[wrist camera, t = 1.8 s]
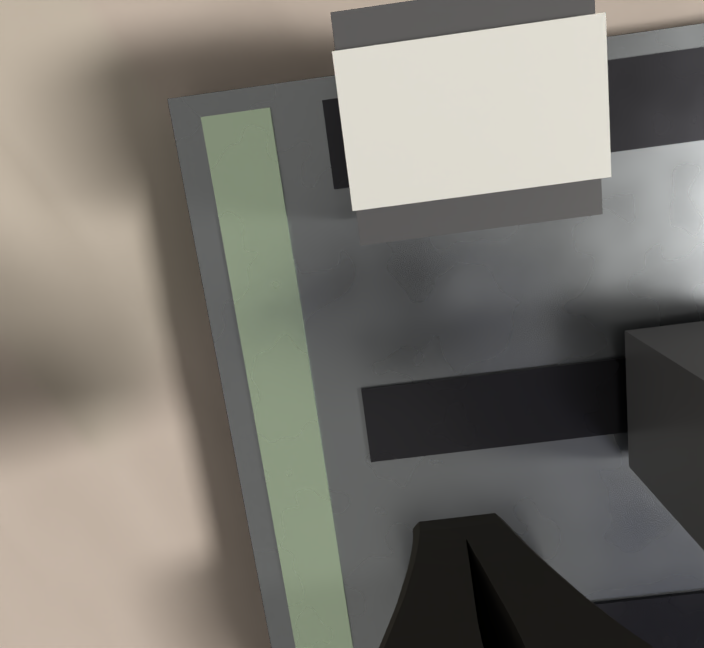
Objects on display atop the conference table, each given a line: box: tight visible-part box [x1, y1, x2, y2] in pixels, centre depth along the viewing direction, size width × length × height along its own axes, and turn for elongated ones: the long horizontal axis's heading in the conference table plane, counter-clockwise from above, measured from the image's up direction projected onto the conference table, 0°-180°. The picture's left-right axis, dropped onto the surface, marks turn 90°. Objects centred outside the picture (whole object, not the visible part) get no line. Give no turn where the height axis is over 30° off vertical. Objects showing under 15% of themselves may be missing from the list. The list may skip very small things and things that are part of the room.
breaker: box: [331, 0, 611, 246], centre depth 12 cm, size 4×4×5 cm
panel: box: [168, 23, 704, 648], centre depth 17 cm, size 18×24×2 cm
